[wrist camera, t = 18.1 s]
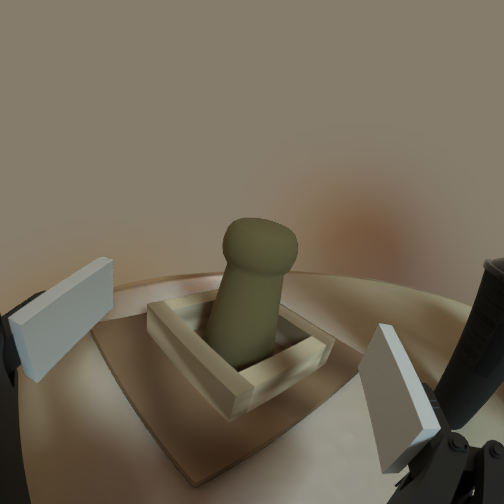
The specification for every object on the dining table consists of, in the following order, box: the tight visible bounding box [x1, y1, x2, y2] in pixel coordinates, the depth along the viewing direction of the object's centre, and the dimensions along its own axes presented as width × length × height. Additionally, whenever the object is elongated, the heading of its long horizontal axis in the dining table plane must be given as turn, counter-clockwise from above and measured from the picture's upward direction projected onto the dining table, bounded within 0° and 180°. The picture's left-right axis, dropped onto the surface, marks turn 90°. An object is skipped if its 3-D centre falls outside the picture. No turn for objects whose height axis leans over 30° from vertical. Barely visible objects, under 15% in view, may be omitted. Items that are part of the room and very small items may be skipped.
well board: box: [90, 289, 364, 488], centre depth 23 cm, size 20×16×4 cm
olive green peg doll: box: [202, 218, 298, 372], centre depth 22 cm, size 6×6×11 cm
